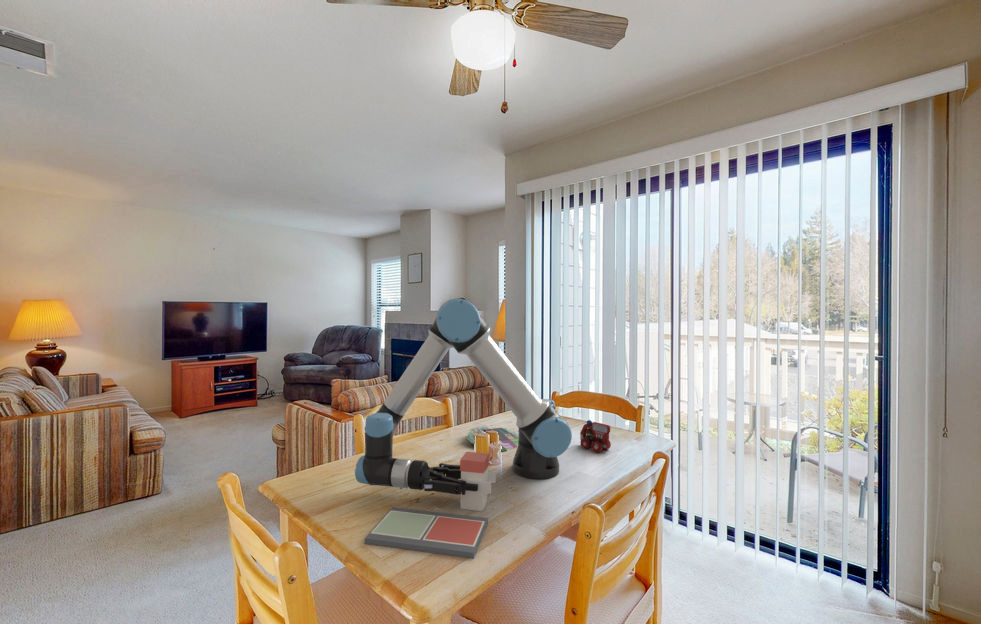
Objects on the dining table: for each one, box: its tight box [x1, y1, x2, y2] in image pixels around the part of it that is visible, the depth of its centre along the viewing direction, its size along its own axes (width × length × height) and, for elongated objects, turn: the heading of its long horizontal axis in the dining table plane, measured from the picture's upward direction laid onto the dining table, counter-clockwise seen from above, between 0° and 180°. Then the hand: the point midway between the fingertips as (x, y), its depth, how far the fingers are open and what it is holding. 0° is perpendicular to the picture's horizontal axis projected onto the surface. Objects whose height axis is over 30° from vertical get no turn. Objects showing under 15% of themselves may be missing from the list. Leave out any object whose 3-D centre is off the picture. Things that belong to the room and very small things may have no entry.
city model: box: [465, 425, 519, 453], centre depth 166 cm, size 25×23×6 cm
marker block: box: [459, 451, 490, 512], centre depth 114 cm, size 6×6×13 cm
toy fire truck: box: [579, 419, 611, 454], centre depth 160 cm, size 7×12×10 cm, turn 41°
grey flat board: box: [364, 506, 489, 559], centre depth 100 cm, size 25×15×1 cm, turn 79°
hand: (493, 482), depth 113 cm, fingers closed on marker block, 6 cm apart
